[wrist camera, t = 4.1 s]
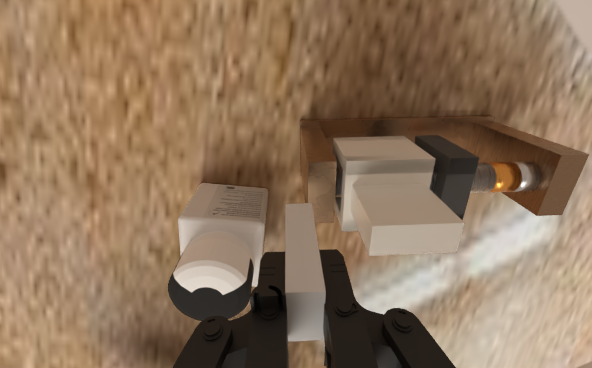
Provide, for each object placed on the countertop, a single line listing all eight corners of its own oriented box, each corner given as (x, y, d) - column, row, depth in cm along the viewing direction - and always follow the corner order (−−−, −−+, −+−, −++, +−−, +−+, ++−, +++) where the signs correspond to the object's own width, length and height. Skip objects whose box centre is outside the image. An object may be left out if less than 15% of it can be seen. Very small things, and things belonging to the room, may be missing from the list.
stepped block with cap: (330, 196, 26) (357, 280, 17) (333, 137, 24) (366, 196, 14) (395, 194, 26) (457, 276, 17) (403, 136, 24) (483, 192, 14)
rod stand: (300, 173, 32) (307, 228, 22) (300, 119, 29) (308, 155, 19) (475, 168, 32) (559, 220, 22) (489, 115, 30) (592, 147, 20)
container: (264, 242, 36) (254, 336, 24) (201, 237, 35) (160, 331, 23) (268, 187, 33) (260, 264, 21) (200, 181, 32) (151, 257, 20)
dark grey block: (405, 194, 26) (434, 228, 21) (415, 135, 24) (450, 158, 19) (426, 193, 27) (460, 227, 21) (438, 135, 24) (479, 157, 19)
